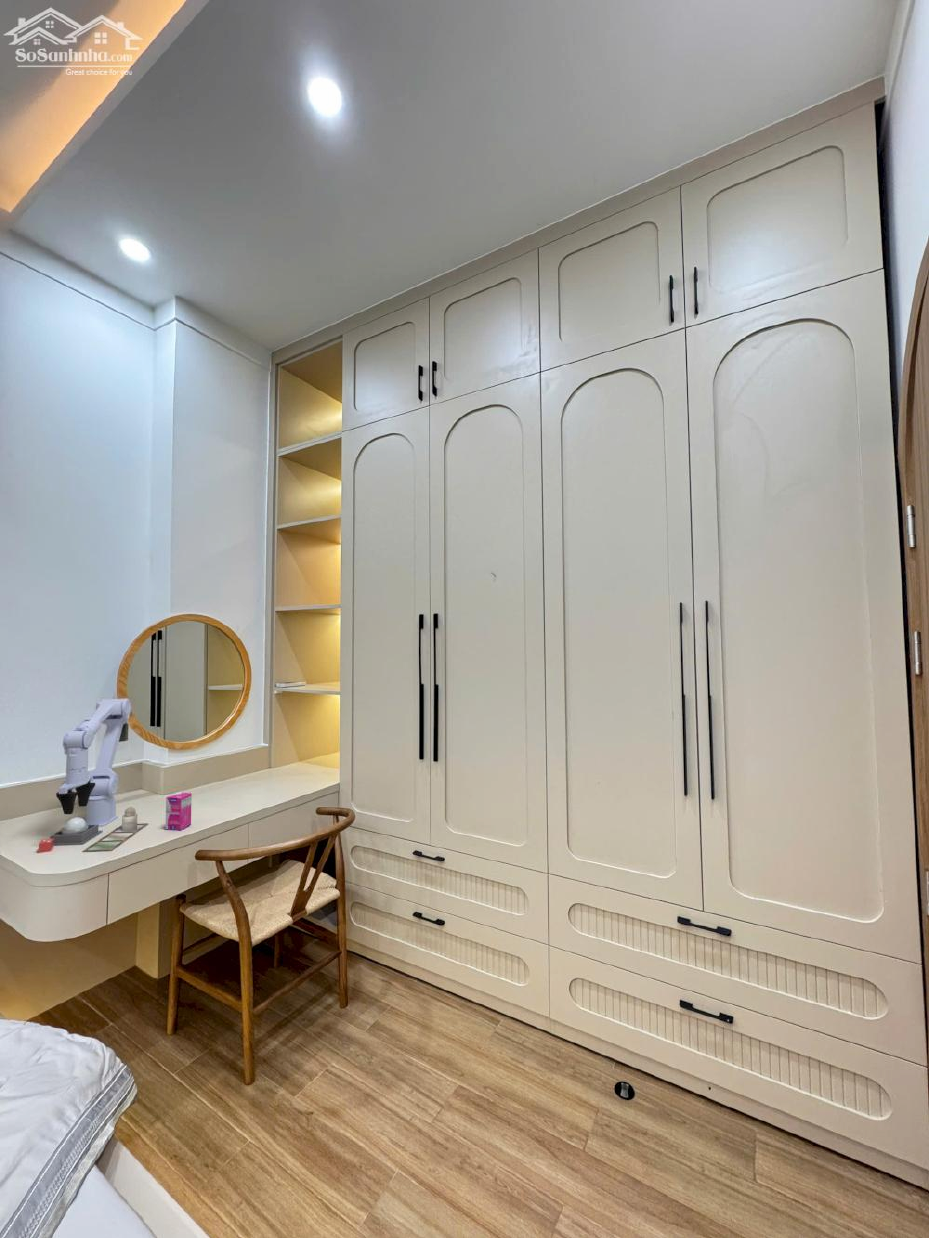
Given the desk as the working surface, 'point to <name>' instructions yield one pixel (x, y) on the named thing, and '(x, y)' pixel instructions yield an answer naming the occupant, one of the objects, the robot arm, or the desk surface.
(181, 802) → the supplement box
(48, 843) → the red die
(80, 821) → the dome
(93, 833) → the popper base
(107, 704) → the robot arm
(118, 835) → the compartment tray
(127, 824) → the pawn
